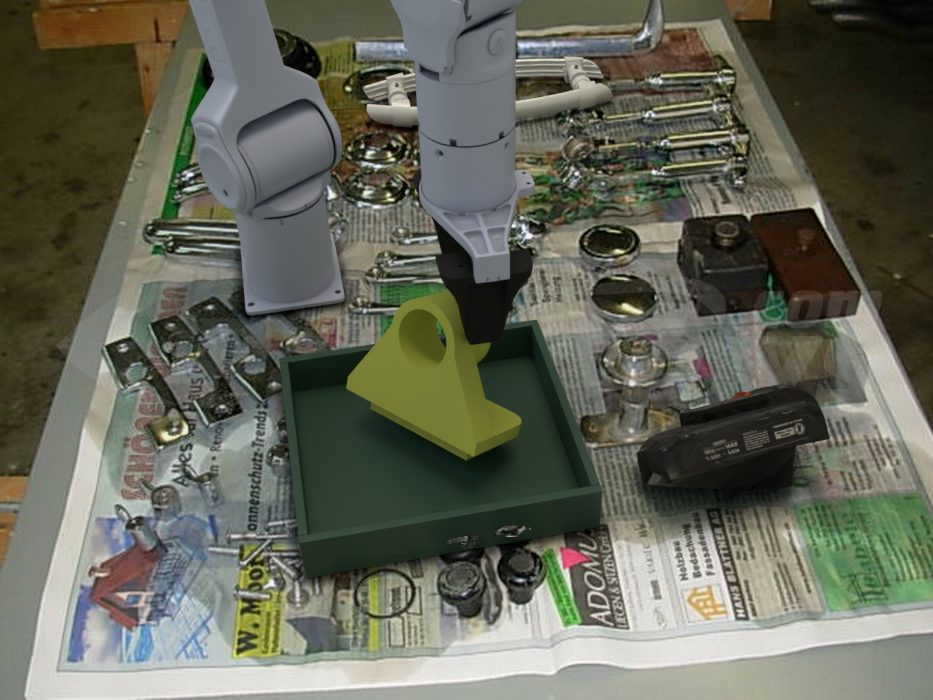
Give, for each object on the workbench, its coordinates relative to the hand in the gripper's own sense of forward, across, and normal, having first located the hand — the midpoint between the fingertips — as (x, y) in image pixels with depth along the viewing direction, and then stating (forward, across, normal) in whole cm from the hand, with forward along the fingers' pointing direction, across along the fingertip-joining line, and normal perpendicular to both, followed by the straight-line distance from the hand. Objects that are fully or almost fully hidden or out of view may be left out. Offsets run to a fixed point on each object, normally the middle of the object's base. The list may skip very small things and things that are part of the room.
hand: (472, 301), depth 74 cm
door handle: (+10, +43, -10) cm, 46 cm away
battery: (+10, -10, -15) cm, 21 cm away
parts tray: (+10, -4, +4) cm, 12 cm away
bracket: (+8, -3, +4) cm, 10 cm away
